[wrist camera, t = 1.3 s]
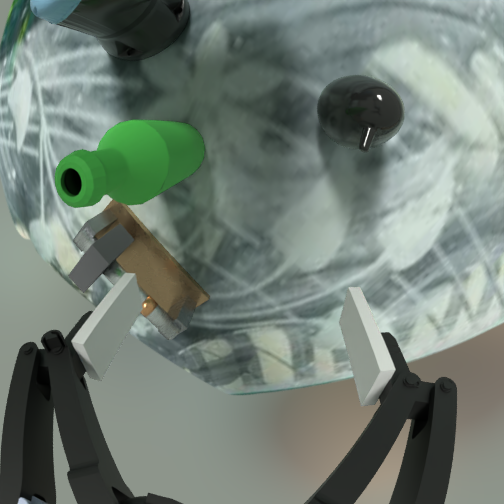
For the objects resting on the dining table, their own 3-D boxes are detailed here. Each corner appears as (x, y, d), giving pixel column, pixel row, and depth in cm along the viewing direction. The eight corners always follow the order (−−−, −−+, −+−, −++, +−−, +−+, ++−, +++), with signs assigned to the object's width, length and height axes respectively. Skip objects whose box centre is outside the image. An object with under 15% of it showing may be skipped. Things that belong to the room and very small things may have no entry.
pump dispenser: (300, 128, 36) (319, 125, 22) (330, 69, 32) (362, 39, 18) (360, 161, 37) (406, 179, 23) (388, 104, 33) (443, 97, 19)
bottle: (217, 143, 38) (143, 163, 15) (185, 189, 41) (93, 262, 18) (171, 111, 36) (57, 102, 13) (142, 158, 39) (24, 199, 16)
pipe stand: (89, 229, 45) (59, 251, 36) (118, 195, 42) (86, 211, 33) (174, 319, 52) (159, 353, 43) (209, 295, 49) (198, 330, 40)
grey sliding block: (95, 252, 42) (68, 275, 35) (120, 223, 40) (91, 244, 32) (108, 267, 43) (83, 292, 36) (134, 240, 41) (109, 264, 33)
